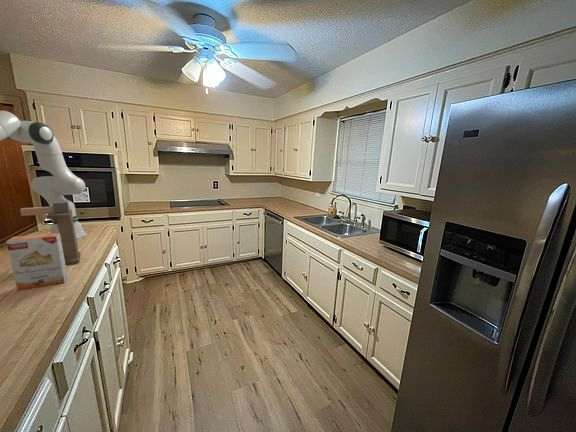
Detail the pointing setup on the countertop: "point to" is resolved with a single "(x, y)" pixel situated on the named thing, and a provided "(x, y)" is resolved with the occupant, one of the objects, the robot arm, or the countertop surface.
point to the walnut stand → (67, 237)
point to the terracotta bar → (47, 209)
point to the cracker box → (37, 260)
